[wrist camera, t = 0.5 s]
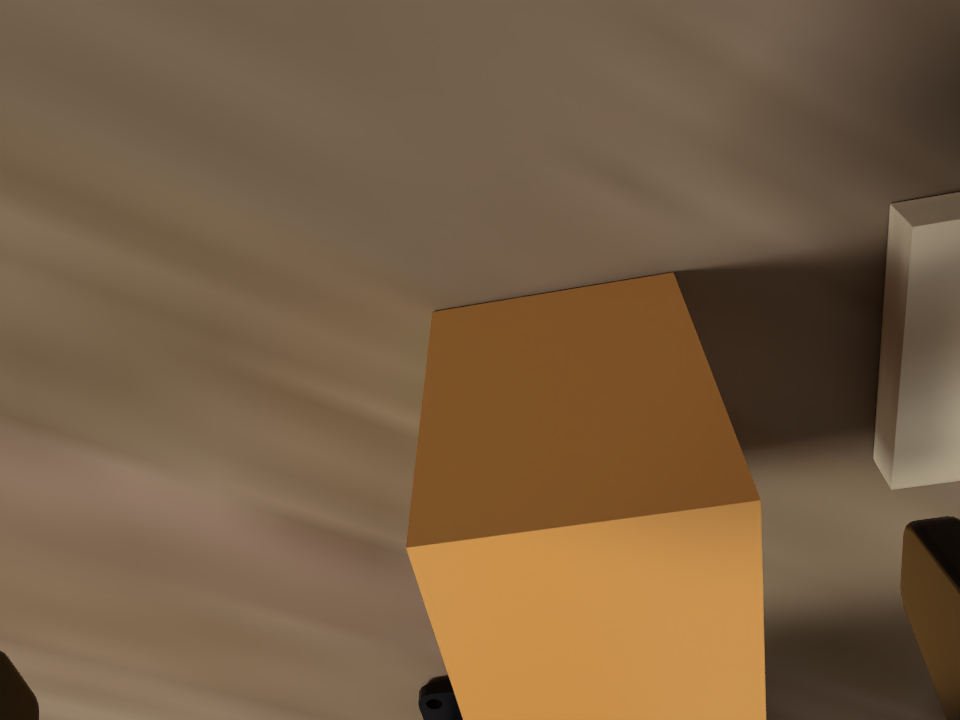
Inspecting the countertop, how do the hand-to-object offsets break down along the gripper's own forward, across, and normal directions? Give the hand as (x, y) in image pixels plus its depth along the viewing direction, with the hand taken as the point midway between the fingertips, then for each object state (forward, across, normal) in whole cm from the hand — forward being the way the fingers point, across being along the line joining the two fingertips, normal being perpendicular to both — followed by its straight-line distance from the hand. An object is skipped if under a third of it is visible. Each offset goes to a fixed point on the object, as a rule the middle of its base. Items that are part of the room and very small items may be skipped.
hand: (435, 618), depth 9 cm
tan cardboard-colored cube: (+12, -1, +6) cm, 13 cm away
